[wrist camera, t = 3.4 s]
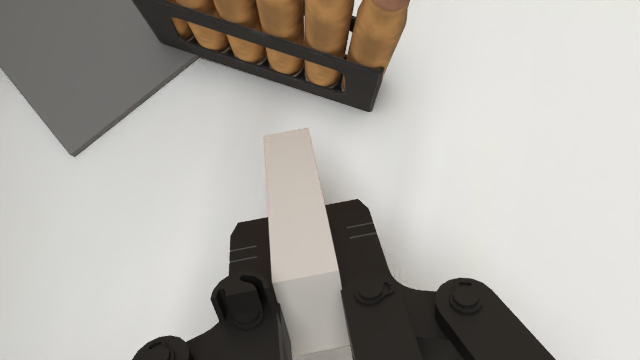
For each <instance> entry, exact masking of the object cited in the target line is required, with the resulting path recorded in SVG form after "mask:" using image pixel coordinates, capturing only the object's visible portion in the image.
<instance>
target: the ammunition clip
mask: <svg viewBox="0 0 640 360" xmlns="http://www.w3.org/2000/svg"><path fill="white" fill-rule="evenodd" d="M132 2H133V3H134V4H135V6H136V7H137V9H138V10H139V12H140V13H141V15H142V16H143V18H144V19H145V21H146V22H147V23H148V25H149V26H150V28H151V29H152V31H153V32H154V34H155V35H156V37H157V38H158V40H159V41H160V42H161V43H162V44H165V45H168V46H171V47H174V48H177V49H180V50H183V51H186V52H189V53H192V54H195V55H198V56H201V57H204V58H207V59H210V60H213V61H216V62H219V63H222V64H225V65H228V66H231V67H234V68H237V69H240V70H243V71H246V72H249V73H252V74H255V75H258V76H261V77H265V78H268V79H271V80H274V81H277V82H280V83H283V84H286V85H289V86H292V87H295V88H298V89H301V90H304V91H307V92H310V93H313V94H316V95H319V96H322V97H325V98H328V99H331V100H334V101H337V102H340V103H343V104H346V105H349V106H352V107H355V108H358V109H361V110H364V111H367V112H370V111H372V109H373V106H374V103H375V100H376V97H377V94H378V91H379V88H380V85H381V82H382V79H383V75H384V73H385V71H386V68H387V66H388V64H389V62H390V59H391V57H392V55H393V52H394V50H395V48H396V46H397V43H398V41H399V39H400V37H401V34H402V32H403V30H404V27H405V25H406V20H407V8H408V5H409V2H410V0H363V1H362V3H361V4H360V6H359V8H358V12H357V16H356V17H354V16H352V13H353V7H354V0H132ZM304 16H305V41H304ZM349 31H351V32H353V33H352V38H351V42H350V46H349V51H348V55H346V54H345V51H346V45H347V40H348V34H349Z"/></svg>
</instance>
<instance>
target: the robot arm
mask: <svg viewBox="0 0 640 360" xmlns="http://www.w3.org/2000/svg"><path fill="white" fill-rule="evenodd" d="M264 152H265V169H266V187H267V204H268V217H267V218H261V219H256V220H251V221H245V222H240V223H238V224H237V226H236V227H235V229H234V231H233V233H232V234H231V236H230V263H229V276H228V277H226V278H225V279H223V280H222V281H220V282H219V283H218V285H217V286H216V287H215V288H214V290H213V292H212V296H211V301H212V304H213V306H214V309H215V311H216V314H217V316H218V319H219V322H218V323H217V324H216V325H215V326H214V327H213V328H212V329H210V330H208V331H207V332H205V333H203V334H201V335H199V336H197V337H195V338H193V339H191V340H189V341H187V342H185V341H184V340H182V339H181V338H180V337H175V336H164V337H159V338H156V339H154V340H152V341H150V342H148V343H147V344H146V345H144V346H143V347H142V348H141V349H140V350H138V352H137V353H136V355H135V356H134V358H133V359H132V360H292V354H293V357H294V356H299V355H304V354H309V353H314V352H320V351H325V350H330V349H335V348H340V347H345V346H351V351H352V357H353V360H555V358H554V357H553V356H552V355H551V354H550V353H549V352H548V351H547V350H546V349H545V348H544V346H543V345H542V344H541V343H540V342H539V341H538V340H537V339H536V338H535V337H534V335H533V334H532V333H531V332H530V331H529V330H528V329H527V328H526V327H525V326H524V325H523V323H522V322H521V321H520V320H519V319H518V318H517V317H516V316H515V315H514V314H513V313H512V311H511V310H510V309H509V308H508V307H507V306H506V305H505V304H504V303H503V302H502V301H501V299H500V298H499V297H498V296H497V295H496V294H495V293H494V292H493V291H492V290H491V289H490V288H489V287H487V286H486V285H485V284H484V283H482V282H479V281H477V280H474V279H470V278H457V279H452V280H449V281H447V282H445V283H444V284H442V285H441V286H440V287H439V289H438V290H437V292H435V291H422V290H415V289H411V288H408V287H406V286H403V285H402V284H400V283H399V282H397V281H396V280H395V279H394V278H393V277H392V275H391V273H390V271H389V269H388V266H387V263H386V260H385V257H384V254H383V251H382V248H381V245H380V241H379V238H378V235H377V233H376V229H375V226H374V224H373V220H372V217H371V214H370V211H369V209H368V208H367V207H366V206H365V205H364V204H363V203H362V202H361V201H360V200H358V199H356V200H350V201H345V202H340V203H334V204H329V205H325V204H324V199H323V194H322V190H321V185H320V180H319V176H318V171H317V166H316V162H315V157H314V152H313V148H312V143H311V138H310V134H309V129H308V128H304V129H298V130H293V131H288V132H282V133H277V134H272V135H266V136H264ZM291 350H292V351H291Z"/></svg>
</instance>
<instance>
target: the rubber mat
mask: <svg viewBox="0 0 640 360" xmlns="http://www.w3.org/2000/svg"><path fill="white" fill-rule="evenodd" d="M199 57H200V56H198V55H195V54H192V53H189V52H186V51H183V50H180V49H177V48H174V47H171V46H168V45H165V44H162V43H161V42H160V41H159V40H158V38H157V37H156V35H155V34H154V32H153V31H152V29H151V28H150V26H149V25H148V23H147V22H146V21H145V19H144V18H143V16H142V15H141V13H140V12H139V10H138V9H137V7H136V6H135V4H134V3H133V2H132V0H0V68H1V69H2V70H3V71H4V73H5V74H6V75H7V76H8V78H9V79H10V80H11V81H12V83H13V84H14V85H15V86H16V88H17V89H18V90H19V91H20V93H21V94H22V95H23V96H24V98H25V99H26V100H27V101H28V103H29V104H30V105H31V106H32V108H33V109H34V110H35V111H36V113H37V114H38V115H39V116H40V118H41V119H42V120H43V121H44V123H45V124H46V125H47V126H48V128H49V129H50V130H51V131H52V133H53V134H54V135H55V137H56V138H57V139H58V140H59V142H60V143H61V144H62V145H63V147H64V148H65V149H66V150H67V152H68V153H69V154H70V155H72V156H74V157H75V156H76V155H77V154H79V153H80V152H81V151H82V150H84V149H85V148H86V147H87V146H89V145H90V144H91V143H92V142H94V141H95V140H96V139H97V138H99V137H100V136H101V135H102V134H104V133H105V132H106V131H107V130H109V129H110V128H111V127H112V126H114V125H115V124H116V123H117V122H119V121H120V120H121V119H122V118H124V117H125V116H126V115H127V114H129V113H130V112H131V111H132V110H134V109H135V108H136V107H137V106H139V105H140V104H141V103H142V102H144V101H145V100H146V99H148V98H149V97H150V96H151V95H153V94H154V93H155V92H156V91H158V90H159V89H160V88H161V87H163V86H164V85H165V84H166V83H168V82H169V81H170V80H171V79H173V78H174V77H175V76H176V75H178V74H179V73H180V72H181V71H183V70H184V69H185V68H186V67H188V66H189V65H190V64H191V63H193V62H194V61H195V60H196V59H198V58H199Z"/></svg>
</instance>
